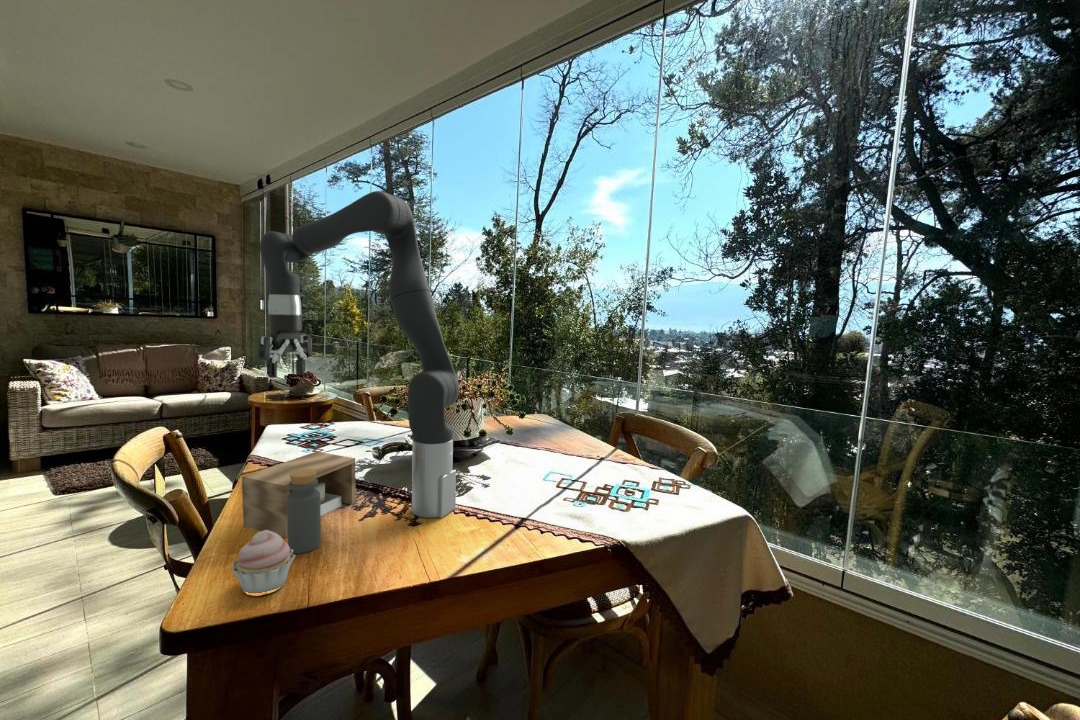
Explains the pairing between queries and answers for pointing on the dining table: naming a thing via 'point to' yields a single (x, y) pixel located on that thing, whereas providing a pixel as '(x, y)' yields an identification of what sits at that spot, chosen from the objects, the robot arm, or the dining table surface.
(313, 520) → the bottle
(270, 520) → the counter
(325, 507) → the shelved tray
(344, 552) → the dining table surface
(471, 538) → the dining table surface
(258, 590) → the cupcake
